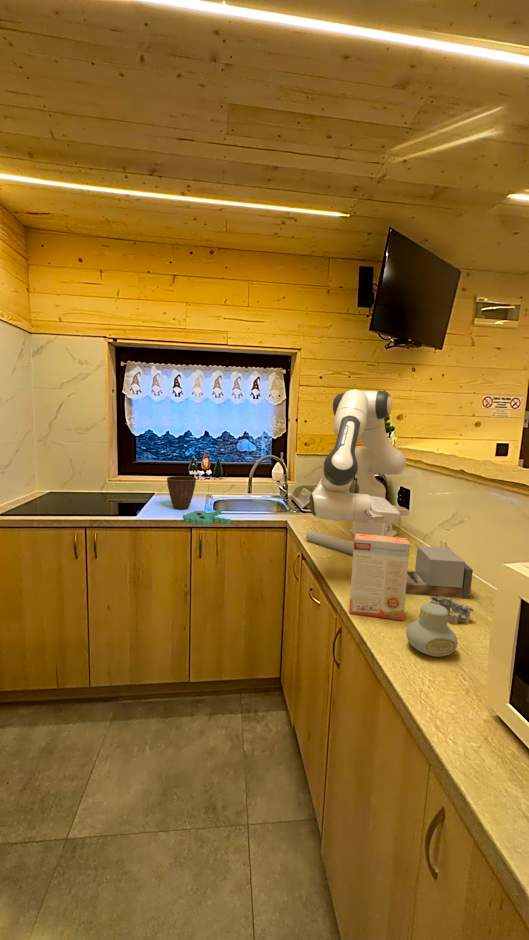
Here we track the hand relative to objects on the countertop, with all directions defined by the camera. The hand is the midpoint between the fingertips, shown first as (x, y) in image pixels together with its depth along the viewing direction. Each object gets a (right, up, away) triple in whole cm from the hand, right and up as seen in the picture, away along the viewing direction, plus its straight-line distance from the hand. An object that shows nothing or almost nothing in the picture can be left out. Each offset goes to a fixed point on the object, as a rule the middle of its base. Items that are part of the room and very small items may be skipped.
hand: (407, 511), depth 131 cm
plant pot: (-88, -7, +92) cm, 127 cm away
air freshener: (-6, -29, -33) cm, 44 cm away
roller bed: (+7, -24, +2) cm, 25 cm away
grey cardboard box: (+10, -21, +2) cm, 23 cm away
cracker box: (-14, -26, -17) cm, 34 cm away
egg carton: (+6, -27, -15) cm, 32 cm away
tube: (-17, -18, +38) cm, 46 cm away
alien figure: (-72, -11, +72) cm, 103 cm away
